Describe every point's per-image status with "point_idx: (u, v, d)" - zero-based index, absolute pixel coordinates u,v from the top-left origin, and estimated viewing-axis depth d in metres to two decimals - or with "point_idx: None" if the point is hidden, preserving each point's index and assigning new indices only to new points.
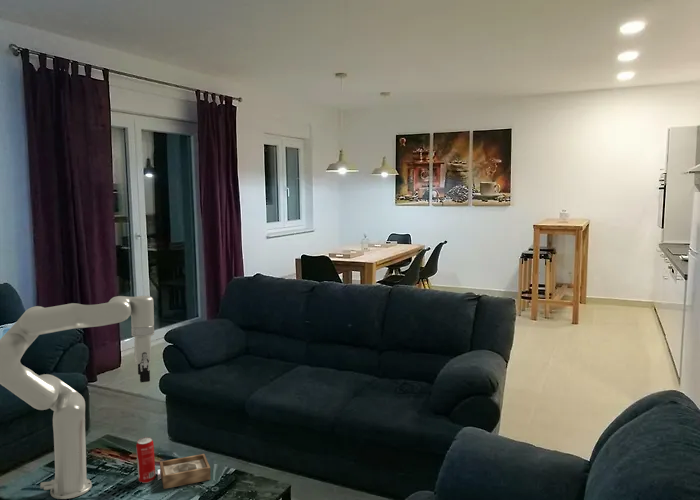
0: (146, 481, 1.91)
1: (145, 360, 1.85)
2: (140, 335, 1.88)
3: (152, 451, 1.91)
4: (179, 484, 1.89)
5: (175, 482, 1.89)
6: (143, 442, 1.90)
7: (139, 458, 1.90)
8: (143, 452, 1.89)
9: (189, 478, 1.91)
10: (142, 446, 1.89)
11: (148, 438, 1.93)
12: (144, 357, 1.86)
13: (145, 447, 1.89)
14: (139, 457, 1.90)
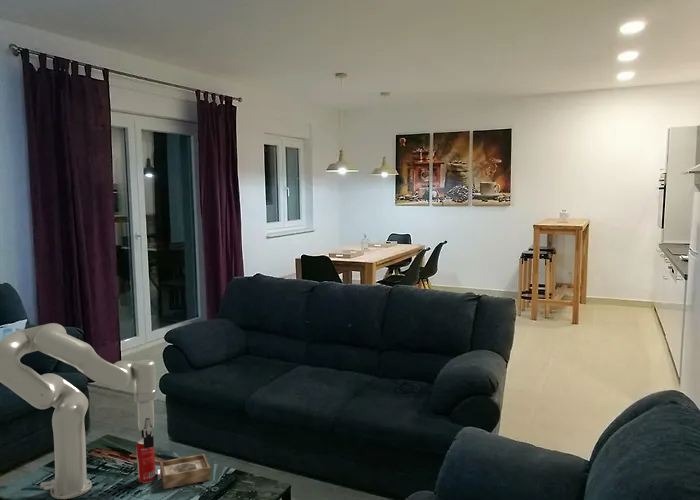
0: (146, 481, 1.91)
1: (148, 427, 1.84)
2: (143, 401, 1.87)
3: (152, 451, 1.91)
4: (179, 484, 1.89)
5: (175, 482, 1.89)
6: (143, 442, 1.90)
7: (139, 458, 1.90)
8: (143, 452, 1.89)
9: (189, 478, 1.91)
10: (142, 446, 1.89)
11: None
12: (147, 423, 1.85)
13: None
14: (139, 457, 1.90)
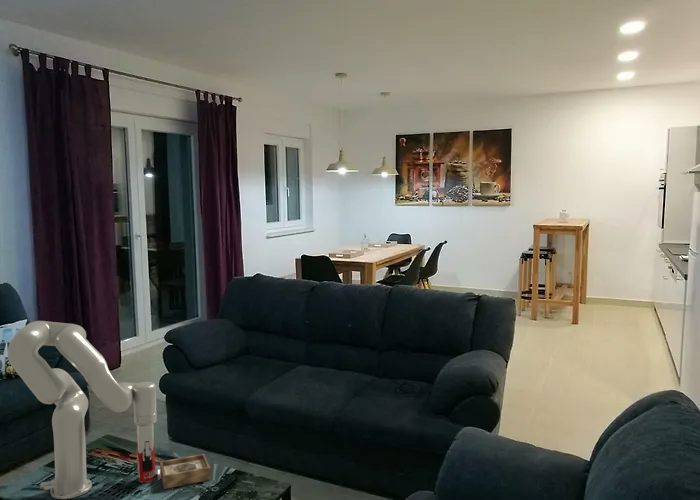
0: (146, 481, 1.91)
1: (147, 453, 1.85)
2: (143, 423, 1.88)
3: (152, 451, 1.92)
4: (179, 484, 1.89)
5: (175, 482, 1.89)
6: None
7: (139, 458, 1.90)
8: None
9: (189, 478, 1.91)
10: None
11: None
12: (147, 449, 1.86)
13: None
14: (139, 457, 1.90)
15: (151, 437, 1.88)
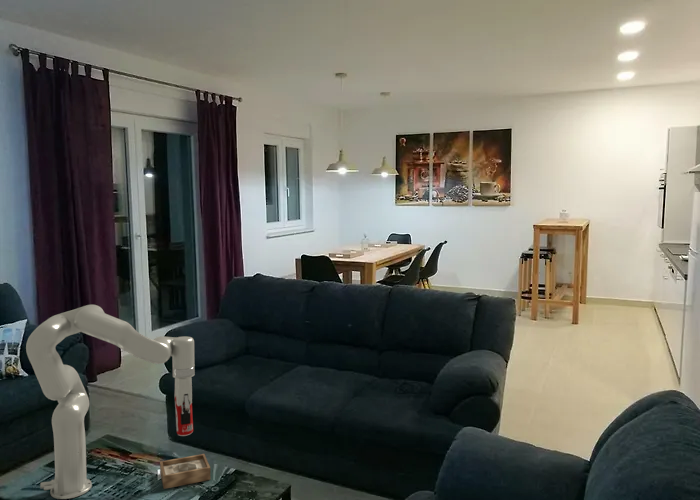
0: (185, 434, 1.93)
1: (187, 405, 1.87)
2: (182, 377, 1.89)
3: None
4: (179, 484, 1.89)
5: (175, 482, 1.89)
6: None
7: (178, 411, 1.92)
8: None
9: (189, 478, 1.91)
10: None
11: None
12: (186, 401, 1.88)
13: None
14: (178, 410, 1.91)
15: (190, 390, 1.90)
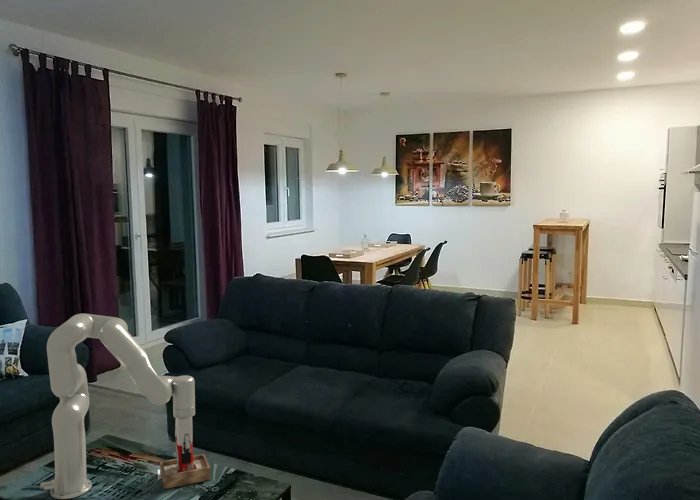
0: None
1: (187, 446, 1.88)
2: (182, 416, 1.90)
3: None
4: (179, 484, 1.89)
5: (175, 482, 1.89)
6: None
7: (179, 450, 1.93)
8: None
9: (189, 478, 1.91)
10: None
11: None
12: (186, 441, 1.89)
13: None
14: (179, 449, 1.93)
15: (190, 430, 1.91)
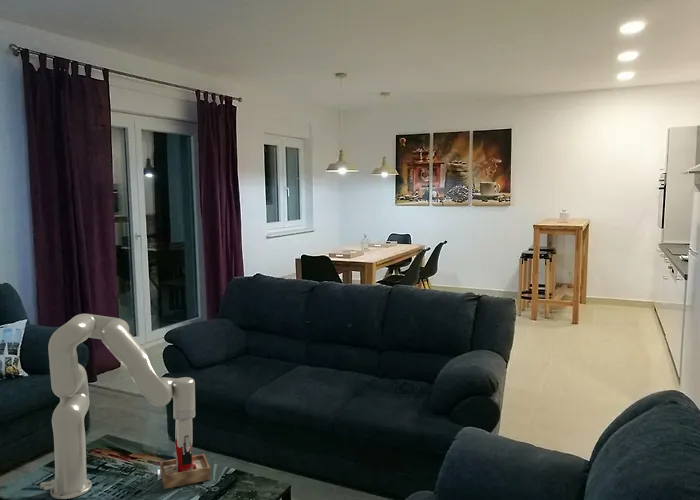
0: None
1: (188, 444, 1.87)
2: (182, 418, 1.90)
3: None
4: (179, 484, 1.89)
5: (175, 482, 1.89)
6: None
7: (178, 455, 1.93)
8: None
9: (189, 478, 1.91)
10: None
11: None
12: (187, 441, 1.88)
13: None
14: (178, 454, 1.93)
15: (190, 432, 1.91)
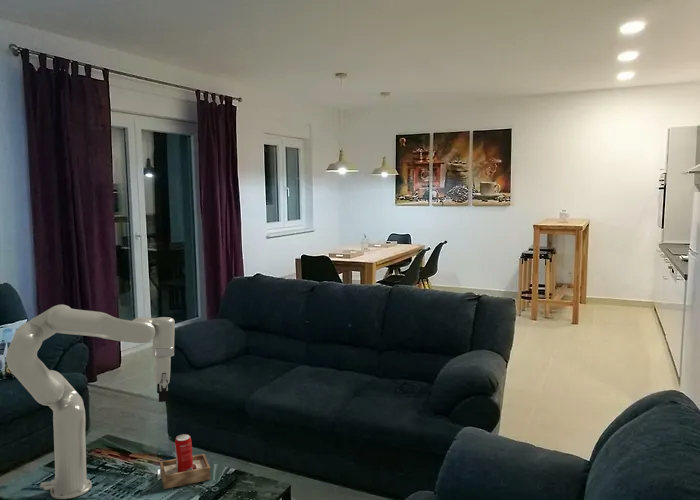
0: None
1: (164, 381, 1.90)
2: (160, 356, 1.94)
3: (190, 448, 1.95)
4: (179, 484, 1.89)
5: (175, 482, 1.89)
6: (182, 439, 1.93)
7: (178, 455, 1.93)
8: (182, 449, 1.92)
9: (189, 478, 1.91)
10: (181, 443, 1.92)
11: (186, 435, 1.96)
12: (163, 377, 1.91)
13: (184, 443, 1.92)
14: (178, 454, 1.93)
15: (168, 369, 1.94)
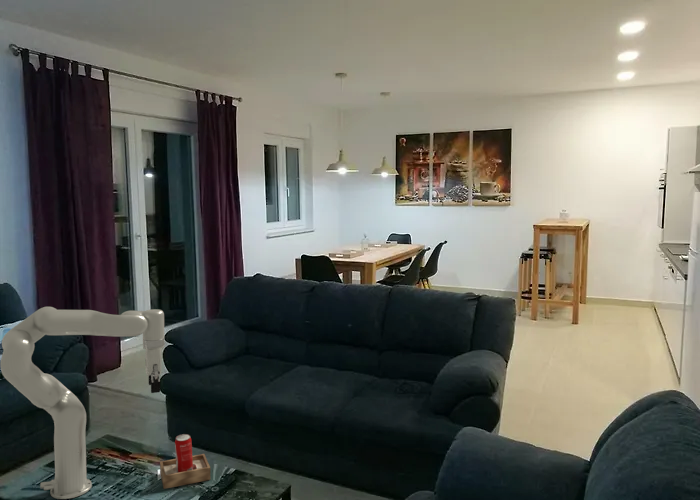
0: None
1: (156, 372, 1.93)
2: (151, 347, 1.96)
3: (190, 448, 1.95)
4: (179, 484, 1.89)
5: (175, 482, 1.89)
6: (182, 439, 1.93)
7: (178, 455, 1.93)
8: (182, 449, 1.92)
9: (189, 478, 1.91)
10: (181, 443, 1.92)
11: (186, 435, 1.96)
12: (155, 369, 1.94)
13: (184, 443, 1.92)
14: (178, 454, 1.93)
15: (159, 361, 1.96)
